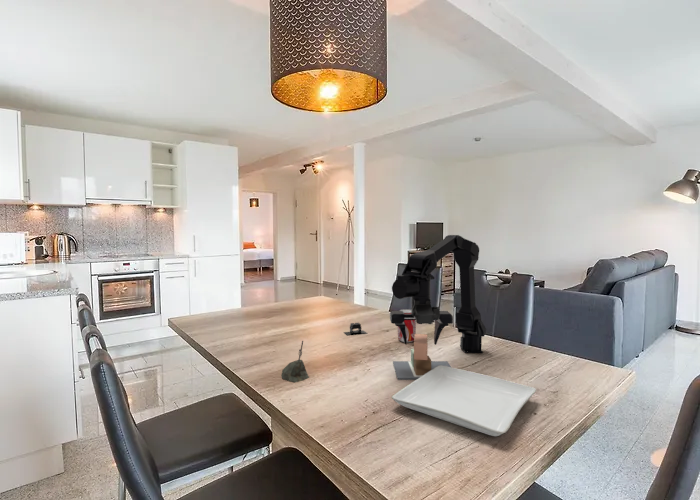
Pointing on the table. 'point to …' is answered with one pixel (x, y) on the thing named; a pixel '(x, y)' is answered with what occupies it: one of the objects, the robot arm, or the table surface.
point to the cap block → (420, 347)
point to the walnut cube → (422, 366)
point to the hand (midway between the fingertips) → (420, 344)
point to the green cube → (412, 357)
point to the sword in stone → (295, 370)
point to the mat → (412, 369)
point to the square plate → (466, 399)
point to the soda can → (408, 328)
